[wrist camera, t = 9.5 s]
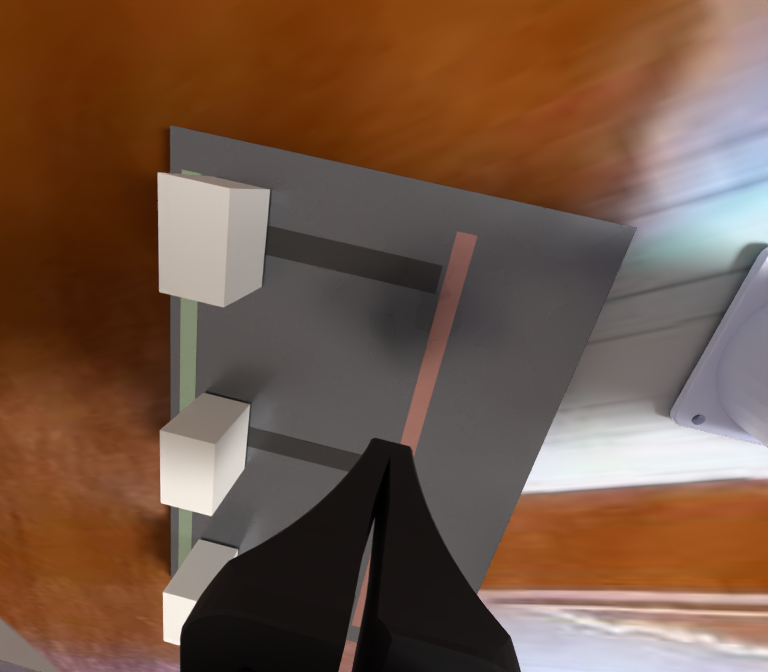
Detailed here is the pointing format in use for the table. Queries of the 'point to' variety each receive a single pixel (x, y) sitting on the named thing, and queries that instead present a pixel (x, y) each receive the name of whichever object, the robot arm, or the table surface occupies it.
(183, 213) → the breaker
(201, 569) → the block
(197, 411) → the breaker mid
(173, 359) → the panel
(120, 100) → the table surface
